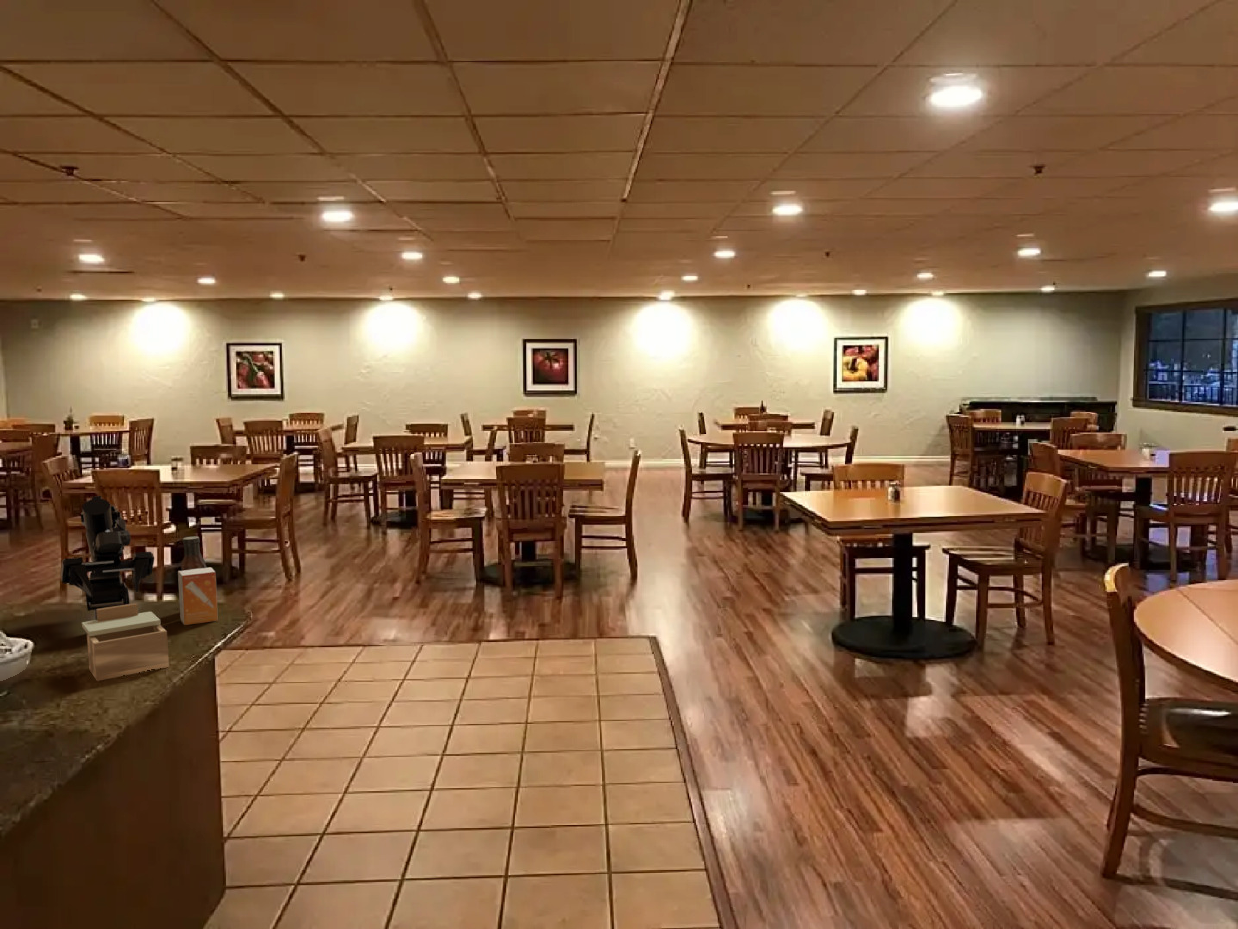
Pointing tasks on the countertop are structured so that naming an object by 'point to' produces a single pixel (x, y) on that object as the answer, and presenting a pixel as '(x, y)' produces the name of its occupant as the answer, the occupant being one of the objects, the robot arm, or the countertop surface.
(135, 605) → the lid
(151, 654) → the box
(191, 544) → the sauce bottle
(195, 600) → the small box
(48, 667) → the countertop surface
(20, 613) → the countertop surface
